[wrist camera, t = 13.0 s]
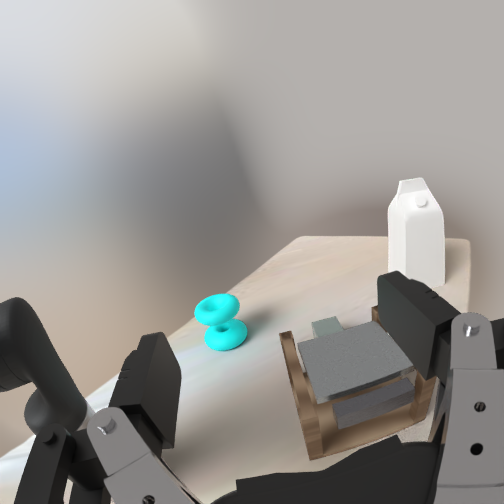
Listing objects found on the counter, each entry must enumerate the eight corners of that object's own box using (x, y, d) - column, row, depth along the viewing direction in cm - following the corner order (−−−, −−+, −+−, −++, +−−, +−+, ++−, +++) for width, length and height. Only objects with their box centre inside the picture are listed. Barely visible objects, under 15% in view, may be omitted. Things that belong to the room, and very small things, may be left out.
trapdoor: (424, 396, 29) (426, 378, 28) (325, 433, 29) (322, 417, 29) (376, 336, 45) (375, 320, 45) (300, 359, 45) (297, 343, 45)
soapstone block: (326, 356, 45) (311, 322, 57) (328, 378, 47) (314, 342, 58) (354, 348, 45) (335, 316, 57) (356, 370, 46) (338, 336, 58)
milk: (425, 265, 73) (421, 173, 64) (444, 284, 63) (444, 180, 54) (388, 275, 75) (380, 179, 66) (404, 296, 64) (399, 187, 55)
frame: (424, 419, 33) (437, 371, 29) (309, 460, 34) (301, 420, 30) (381, 351, 50) (382, 303, 46) (289, 379, 50) (278, 333, 47)
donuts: (183, 313, 62) (209, 290, 70) (198, 349, 65) (221, 324, 73) (221, 318, 57) (245, 292, 65) (235, 356, 60) (256, 328, 68)
